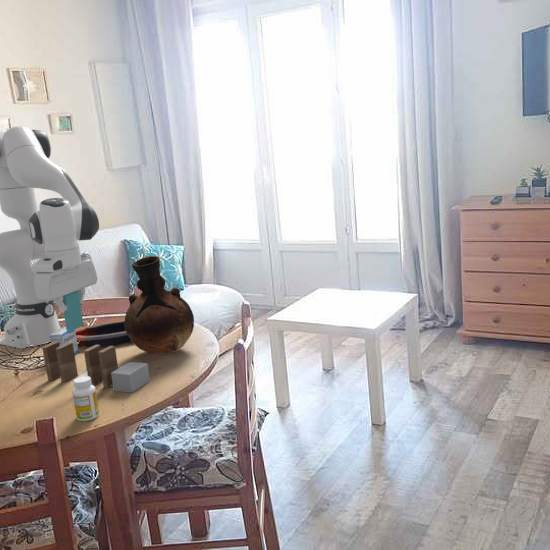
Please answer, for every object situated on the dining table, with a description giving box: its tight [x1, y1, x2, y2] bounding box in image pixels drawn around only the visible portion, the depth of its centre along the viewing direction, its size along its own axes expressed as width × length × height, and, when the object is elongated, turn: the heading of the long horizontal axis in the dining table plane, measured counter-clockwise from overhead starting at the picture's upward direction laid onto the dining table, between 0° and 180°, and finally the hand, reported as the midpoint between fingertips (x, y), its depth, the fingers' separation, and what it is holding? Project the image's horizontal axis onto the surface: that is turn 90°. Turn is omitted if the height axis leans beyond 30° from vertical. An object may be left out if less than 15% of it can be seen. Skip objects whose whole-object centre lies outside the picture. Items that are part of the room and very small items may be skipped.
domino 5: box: [98, 345, 119, 388], centre depth 173 cm, size 2×5×10 cm, turn 156°
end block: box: [111, 361, 151, 393], centre depth 170 cm, size 6×8×5 cm
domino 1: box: [41, 341, 61, 382], centre depth 181 cm, size 2×5×10 cm, turn 155°
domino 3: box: [56, 342, 79, 383], centre depth 179 cm, size 2×5×10 cm, turn 156°
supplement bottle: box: [72, 375, 100, 422], centre depth 153 cm, size 5×5×10 cm
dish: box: [75, 320, 132, 348], centre depth 212 cm, size 16×31×5 cm, turn 100°
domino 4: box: [83, 345, 103, 387], centre depth 175 cm, size 2×5×10 cm, turn 155°
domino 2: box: [62, 291, 85, 331], centre depth 174 cm, size 2×5×10 cm, turn 155°
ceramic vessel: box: [123, 255, 195, 355], centre depth 193 cm, size 21×18×30 cm
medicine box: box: [50, 326, 79, 355], centre depth 199 cm, size 8×4×9 cm, turn 168°
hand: (71, 308), depth 173 cm, fingers closed on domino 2, 5 cm apart
